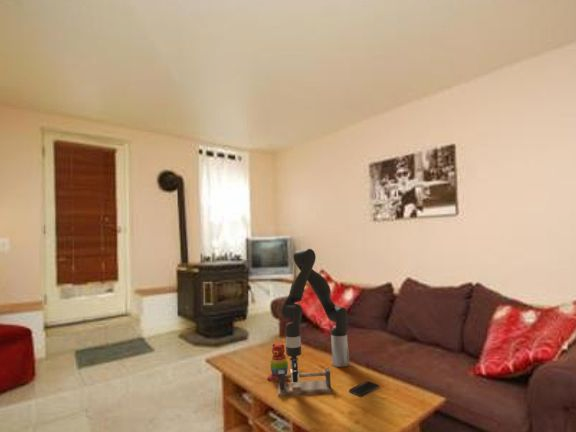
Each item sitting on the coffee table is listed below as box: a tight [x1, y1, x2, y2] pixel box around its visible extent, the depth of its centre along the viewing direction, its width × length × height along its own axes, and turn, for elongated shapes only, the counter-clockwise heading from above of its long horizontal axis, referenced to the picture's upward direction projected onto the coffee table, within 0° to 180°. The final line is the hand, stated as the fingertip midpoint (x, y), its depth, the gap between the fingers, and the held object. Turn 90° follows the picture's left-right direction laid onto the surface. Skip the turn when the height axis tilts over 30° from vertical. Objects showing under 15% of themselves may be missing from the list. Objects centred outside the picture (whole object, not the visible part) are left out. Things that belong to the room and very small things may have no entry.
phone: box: [348, 381, 380, 398], centre depth 170 cm, size 8×1×15 cm
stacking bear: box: [266, 343, 289, 382], centre depth 188 cm, size 11×10×18 cm
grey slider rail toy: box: [277, 367, 333, 398], centre depth 173 cm, size 26×12×9 cm, turn 93°
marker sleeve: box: [289, 368, 301, 383], centre depth 173 cm, size 4×5×5 cm
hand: (294, 379), depth 173 cm, fingers closed on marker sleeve, 5 cm apart
